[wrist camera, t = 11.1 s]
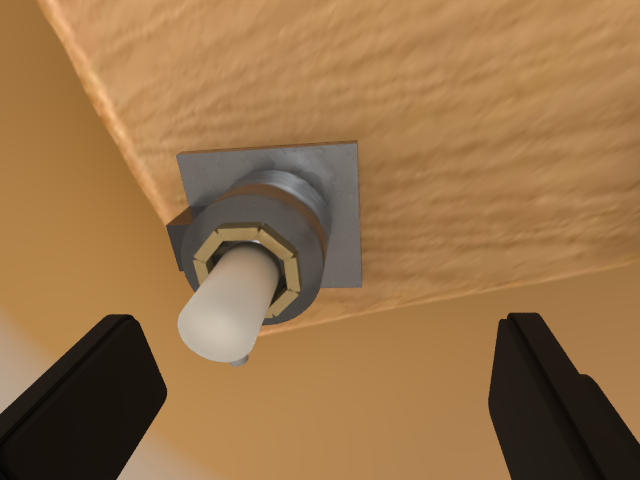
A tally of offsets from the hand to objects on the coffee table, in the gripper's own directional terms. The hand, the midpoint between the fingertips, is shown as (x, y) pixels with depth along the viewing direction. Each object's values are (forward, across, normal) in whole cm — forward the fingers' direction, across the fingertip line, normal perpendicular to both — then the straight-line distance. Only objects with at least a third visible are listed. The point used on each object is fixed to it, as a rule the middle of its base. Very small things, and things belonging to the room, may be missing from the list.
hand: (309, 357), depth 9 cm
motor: (+28, +9, +7) cm, 30 cm away
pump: (+17, +9, +7) cm, 21 cm away
